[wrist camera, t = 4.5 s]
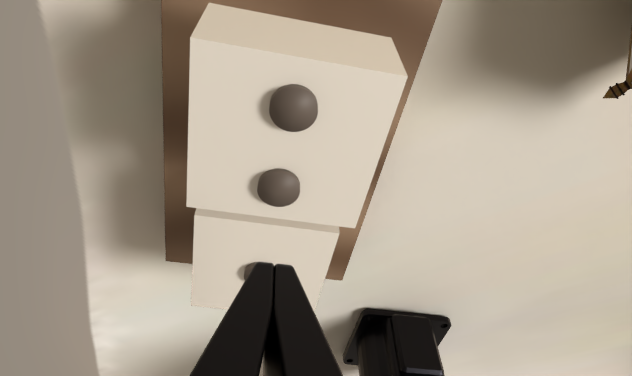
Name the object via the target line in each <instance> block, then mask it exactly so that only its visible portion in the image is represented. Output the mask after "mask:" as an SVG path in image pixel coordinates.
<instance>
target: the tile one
mask: <svg viewBox="0 0 632 376" xmlns="http://www.w3.org/2000/svg"><path fill="white" fill-rule="evenodd" d="M339 234H340V233H339V226H332V225H324V224H316V223H309V222H301V221H293V220H285V219H277V218H270V217H262V216H254V215H246V214H238V213H231V212H223V211H215V210H207V209H200V208H196V211H195V215H194V238H193V264H192V291H191V306H200V307H210V308H220V309H229V307H230V306H231V304H232V302H233V300H234V299H235V297H236V295H237V294H238V292H239V290H240V289H241V287H242V285H243V283H244V282H245V280H246V278H247V277H248V275H249V273H250V271H251V270H252V268H253V266H254V265H255V263H256V262H268V263H273V264H274V266H275V264H287V265H292V266H293V267H294V269H295V271H296V273H297V276H298V278H299V280H300V282H301V284H302V287H303V289H304V291H305V293H306V295H307V297H308V300H309V302H310V304H311V306H312V308H313V311H314V312H315V309H316V305H317V302H318V299H319V296H320V293H321V290H322V287H323V284H324V280H325V277H326V274H327V271H328V268H329V265H330V262H331V259H332V256H333V252H334V249H335V246H336V243H337V240H338V237H339Z"/></svg>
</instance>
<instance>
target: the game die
mask: <svg viewBox="0 0 632 376" xmlns="http://www.w3.org/2000/svg"><path fill="white" fill-rule="evenodd" d="M629 89H632V27H631V36H630V45H629V55H628V64H627V73H626V81H625V82H623V83H619V84H618V83H616V85H615V86H613V87H611V86H610V87H609V90H608V91H607V93H606V94H605V96H604V97H603V98H617V99H618V97H619V96H621V95H622V94H623V95H625V94H624V93H625V92H626V91H627V90H629Z"/></svg>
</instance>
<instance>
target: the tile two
mask: <svg viewBox="0 0 632 376" xmlns="http://www.w3.org/2000/svg"><path fill="white" fill-rule="evenodd" d="M407 78H408V76H407V73H406V71H405V69H404V66H403V64H402V62H401V59H400V57H399V54H398V52H397V50H396V47H395V45H394V43H393V40H392V38H391V37H385V36H380V35H375V34H370V33H365V32H359V31H354V30H349V29H344V28H339V27H333V26H328V25H323V24H318V23H313V22H307V21H302V20H297V19H292V18H286V17H281V16H276V15H271V14H266V13H260V12H255V11H250V10H245V9H240V8H234V7H229V6H224V5H219V4H214V3H208V5H207V7H206V9H205V11H204V13H203V14H202V16H201V18H200V20H199V22H198V24H197V26H196V27H195V29H194V31H193V33H192V35H191V37H190V69H189V113H188V158H187V202H186V207H192V208H200V209H207V210H215V211H223V212H231V213H238V214H246V215H254V216H262V217H270V218H277V219H285V220H293V221H301V222H309V223H316V224H324V225H332V226H340V227H347V228H355V227H356V224H357V222H358V219H359V216H360V213H361V210H362V207H363V204H364V201H365V199H366V196H367V193H368V190H369V187H370V184H371V181H372V178H373V175H374V173H375V170H376V167H377V164H378V161H379V158H380V155H381V152H382V150H383V147H384V144H385V141H386V138H387V135H388V132H389V129H390V127H391V124H392V121H393V118H394V115H395V112H396V109H397V106H398V103H399V101H400V98H401V95H402V92H403V89H404V86H405V83H406V80H407Z"/></svg>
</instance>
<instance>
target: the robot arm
mask: <svg viewBox="0 0 632 376" xmlns="http://www.w3.org/2000/svg"><path fill="white" fill-rule="evenodd" d="M450 327H451V322H450V319H449V318H448V317H441V316H431V315H422V314H412V313H402V312H393V311H383V310H373V309H367V310H364V311H362V313H361V315H360V317H359V320H358V322H357V324H356V327H355V329H354V331H353V334H352V336H351V338H350V341H349V343H348V345H347V348H346V350H345V352H344V355H343V362H344V363H345V364H351V365H358V367H359V376H444V370H443V366H442V362H441V359H440V355H439V351H438V345H439V344H440V342H441V341H442V339H443V338H444V336H445V335H446V333H447V332H448V330H449V329H450ZM262 359H263V376H343V374H342V372H341V370H340V368H339V366H338V363H337V361H336V359H335V357H334V355H333V352H332V350H331V348H330V346H329V344H328V341H327V339H326V337H325V335H324V333H323V330H322V328H321V326H320V324H319V322H318V319H317V317H316V315H315V313H314V311H313V308H312V306H311V304H310V302H309V300H308V297H307V295H306V293H305V291H304V289H303V287H302V284H301V282H300V280H299V278H298V276H297V273H296V271H295V269H294V267H293V266H292V265H287V264H275V266H274V264H273V263H268V262H256V263H255V265H254V266H253V268H252V270H251V271H250V273H249V275H248V277H247V278H246V280H245V282H244V283H243V285H242V287H241V289H240V290H239V292H238V294H237V295H236V297H235V299H234V300H233V302H232V304H231V306H230V307H229V309H228V311H227V312H226V314H225V316H224V318H223V319H222V321H221V323H220V324H219V326H218V328H217V330H216V331H215V333H214V335H213V336H212V338H211V340H210V342H209V343H208V345H207V347H206V348H205V350H204V352H203V354H202V355H201V357H200V359H199V360H198V362H197V364H196V366H195V367H194V369H193V371H192V372H191V374H190V376H259V373H260V368H261V363H262Z"/></svg>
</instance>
